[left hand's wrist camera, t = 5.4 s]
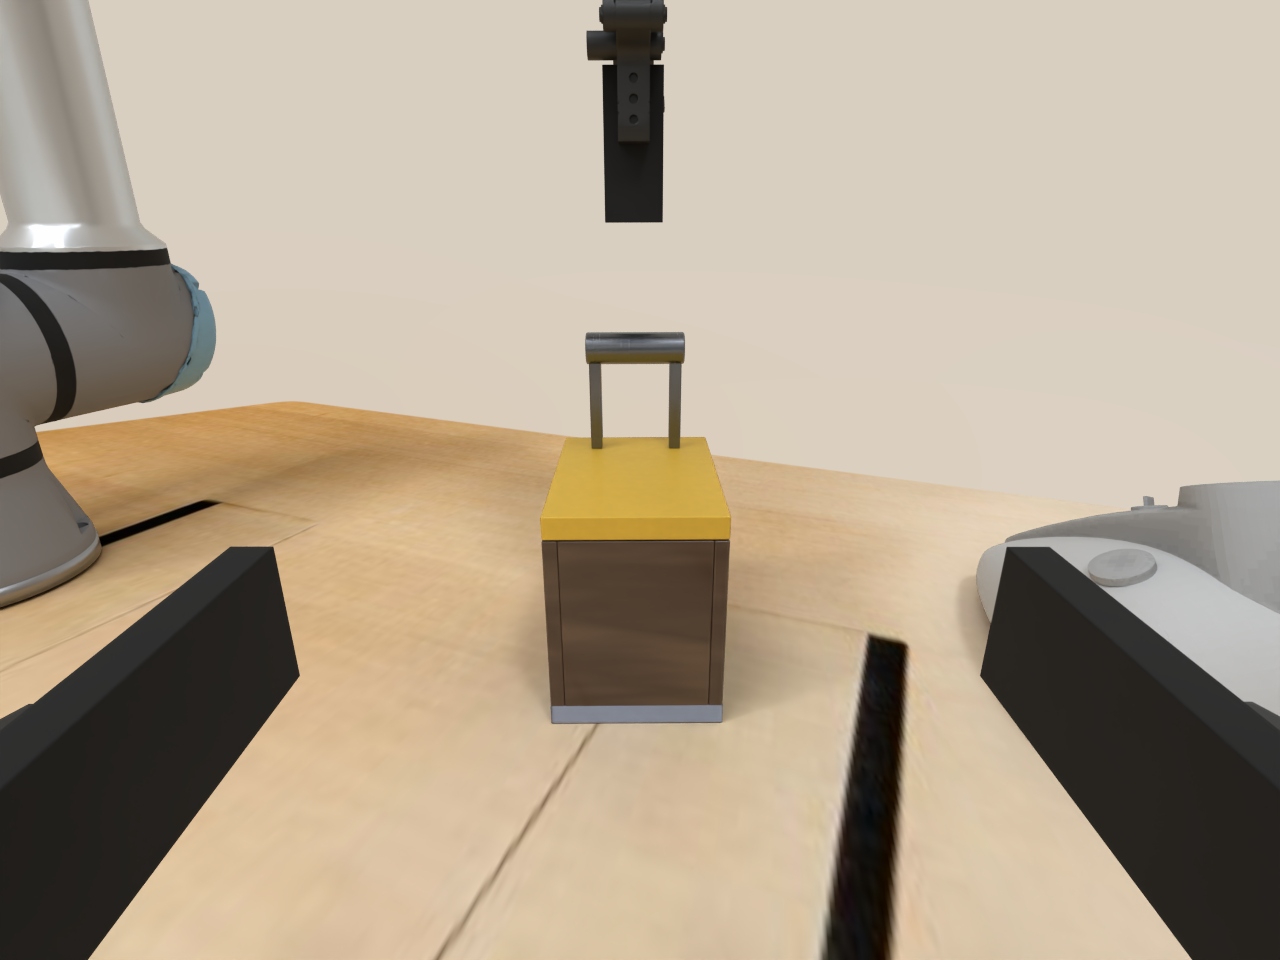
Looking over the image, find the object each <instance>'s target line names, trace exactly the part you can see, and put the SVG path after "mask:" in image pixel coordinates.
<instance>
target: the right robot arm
mask: <svg viewBox="0 0 1280 960" xmlns="http://www.w3.org/2000/svg"><path fill="white" fill-rule="evenodd" d="M599 20H600V22H601V23H602V24H603V31H587V56H588V60H613V65H602V70H603V123H604V175H605V222H663V220H662V219H663V112H664V108H665V107H664V65H653V64H654V60H661V53H663V51H664V50H665V37H663V24H664V23H665V22H667V7H665V5H664V0H603V5H601V7H599ZM0 195H1V198H2V202H3V205H4V208H5V212H6V215H7V218H8V225H7V228H6V230H5V231H4V232H3V233H2V234H1V235H0V607H3V606H6V605H9V604H12V603H15V602H18V601H21V600H24V599H27V598H29V597H32V596H34V595H37V594H39V593H42V592H44V591H47V590H49V589H51V588H53V587H55V586H57V585H60V584H62V583H63V582H65V581H67V580H69V579H71V578H73V577H74V576H76V575H78V574H79V573H81V572H82V571H84V570H85V569H86V568H88V567H89V566H90V565H91V564H92V563H93V562H95V560H96V559H97V558H98V557H99V555H100V553H101V550H102V546H101V543H100V540H99V537H98V533H97V531H96V529H95V527H94V525H93V523H92V521H91V520H90V519H89V518H88V516H86V514H85V513H84V512H83V510H82V509H81V508H80V506H79V505H78V504H77V503H76V501H75V500H74V499H73V498H72V497H71V495H70V494H69V493H68V492H67V490H66V489H65V488H64V487H63V485H62V484H61V483H60V482H59V481H58V479H57V478H56V477H55V476H54V474H53V473H52V472H51V471H50V469H49V468H48V466H47V464H46V462H45V460H44V457H43V454H42V451H41V448H40V444H39V441H38V437H37V434H36V431H35V428H34V427H35V426H36V425H40V424H44V423H48V422H52V421H57V420H61V419H65V418H69V417H73V416H78V415H82V414H87V413H91V412H96V411H100V410H105V409H109V408H113V407H118V406H122V405H127V404H131V403H136V402H140V403H145V402H151V401H154V400H156V399H159V398H161V397H162V396H164V395H168V394H171V393H175V392H178V391H182V390H184V389H187V388H189V387H190V386H192V385H194V384H195V383H196V382H197V381H198V380H199V379H200V378H201V377H202V375H203V372H204V371H206V370H207V369H208V367H209V365H210V363H211V361H212V358H213V354H214V350H215V344H216V326H215V319H214V314H213V310H212V307H211V304H210V302H209V299H208V297H207V295H206V293H205V292H204V291H202V290H198V287H199V283H198V281H197V280H196V279H195V278H194V277H193V276H192V275H191V274H190V273H188V272H187V271H186V270H184V269H182V268H180V267H178V266H175V265H173V264H171V263H170V259H169V254H168V250H167V246H166V244H165V243H164V242H163V241H161V240H160V239H159V238H157V237H156V236H154V235H153V234H152V233H150V232H149V231H148V230H146V229H145V228H144V227H143V225H142V224H141V223H140V220H139V216H138V211H137V207H136V203H135V198H134V194H133V190H132V186H131V182H130V177H129V173H128V168H127V164H126V160H125V156H124V152H123V147H122V143H121V139H120V134H119V130H118V126H117V121H116V117H115V113H114V109H113V104H112V100H111V96H110V92H109V87H108V83H107V79H106V74H105V70H104V66H103V62H102V57H101V53H100V49H99V44H98V40H97V36H96V32H95V27H94V23H93V19H92V15H91V10H90V6H89V2H88V0H0Z"/></svg>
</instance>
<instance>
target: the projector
mask: <svg viewBox="0 0 1280 960" xmlns="http://www.w3.org/2000/svg"><path fill="white" fill-rule="evenodd" d="M1143 501H1144V506H1137V507H1132V508H1131V511H1125V512H1117V513H1109V514H1103V515H1096V516H1091V517H1086V518H1081V519H1075V520H1070V521H1066V522H1061V523H1057V524H1052V525H1048V526H1044V527H1040V528H1036V529H1033V530H1029V531H1026V532H1022V533H1019V534H1016V535H1013V536H1011V537H1009V538H1007V539H1006V540H1005V543H1002V544H999V545H996V546H994V547H991V548H989V549H988V550H986V551H985V552H984V553H983V555H982V557H981V559H980V561H979V564H978V568H977V574H976V582H977V588H978V593H979V596H980V599H981V603H982V605H983V607H984V610H985V612H986V615H987V617H988V619H989V621H990V623H991V621H992V616H993V611H994V606H995V601H996V596H997V592H998V587H999V582H1000V577H1001V572H1002V567H1003V562H1004V558H1005V553H1006V548H1007V547H1050V548H1052V549H1053V550H1054V551H1055V552H1057V553H1058V554H1059V555H1061V556H1062V557H1063V558H1064V559H1066V560H1067V561H1068V562H1069V563H1071V564H1072V565H1073V566H1074V567H1076V568H1077V569H1078V570H1079V571H1081V572H1082V573H1083V574H1084V575H1086V576H1087V577H1088V578H1089V579H1091V580H1092V581H1093V582H1094V583H1096V584H1097V585H1098V586H1099V587H1101V588H1102V589H1103V590H1104V591H1106V592H1107V593H1108V594H1109V595H1111V596H1112V597H1113V598H1114V599H1116V600H1117V601H1118V602H1119V603H1121V604H1122V605H1123V606H1124V607H1126V608H1127V609H1128V610H1129V611H1131V612H1132V613H1133V614H1134V615H1136V616H1137V617H1138V618H1139V619H1141V620H1142V621H1143V622H1145V623H1146V624H1147V625H1148V626H1150V627H1151V628H1152V629H1153V630H1155V631H1156V632H1157V633H1158V634H1160V635H1161V636H1162V637H1163V638H1165V639H1166V640H1167V641H1168V642H1170V643H1171V644H1172V645H1173V646H1175V647H1176V648H1177V649H1178V650H1180V651H1181V652H1182V653H1183V654H1185V655H1186V656H1187V657H1188V658H1190V659H1191V660H1192V661H1193V662H1195V663H1196V664H1197V665H1198V666H1200V667H1201V668H1202V669H1203V670H1205V671H1206V672H1207V673H1208V674H1210V675H1211V676H1212V677H1213V678H1215V679H1216V680H1217V681H1218V682H1220V683H1221V684H1222V685H1223V686H1225V687H1226V688H1227V689H1229V690H1230V691H1231V692H1232V693H1234V694H1235V695H1236V696H1237V697H1239V698H1240V699H1241V700H1242V701H1244V702H1254V703H1256V704H1258V705H1260V706H1261V707H1263V708H1265V709H1267V710H1269V711H1271V712H1273V713H1275V714H1277V715H1278V716H1280V481H1257V482H1235V483H1217V484H1203V485H1191V486H1184V487H1180V492H1179V499H1178V506H1176V507H1168V506H1167V505H1154V498H1153V497H1148V496H1144V497H1143Z"/></svg>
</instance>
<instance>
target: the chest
mask: <svg viewBox="0 0 1280 960" xmlns="http://www.w3.org/2000/svg"><path fill="white" fill-rule="evenodd" d="M729 551H730V540H729V539H694V540H542V558H543V575H544V593H545V610H546V627H547V645H548V662H549V679H550V697H551V720H552V723H648V722H722V709H723V704H722V700H723V679H724V658H725V636H726V615H727V594H728V572H729Z"/></svg>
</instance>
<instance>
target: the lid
mask: <svg viewBox="0 0 1280 960" xmlns="http://www.w3.org/2000/svg"><path fill="white" fill-rule="evenodd" d="M585 350H586V362H587V364H589V378H590V413H591V438H566V440H565V443H564V446H563V449H562V452H561V456H560V459H559V462H558V465H557V468H556V471H555V474H554V477H553V480H552V484H551V487H550V490H549V493H548V496H547V499H546V502H545V505H544V508H543V511H542V515H541V518H540V521H541V538H542V540H694V539H730V529H731V516H730V512H729V509H728V506H727V503H726V500H725V497H724V494H723V491H722V488H721V485H720V482H719V478H718V475H717V472H716V469H715V466H714V463H713V460H712V457H711V454H710V451H709V448H708V445H707V441H706V438H705V437H680V415H681V364H683V363H684V358H685V336H684V333H683V332H596V333H592V332H591V333H586V340H585ZM601 364H669V437H632V438H630V437H628V438H603V427H602V383H601Z"/></svg>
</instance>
